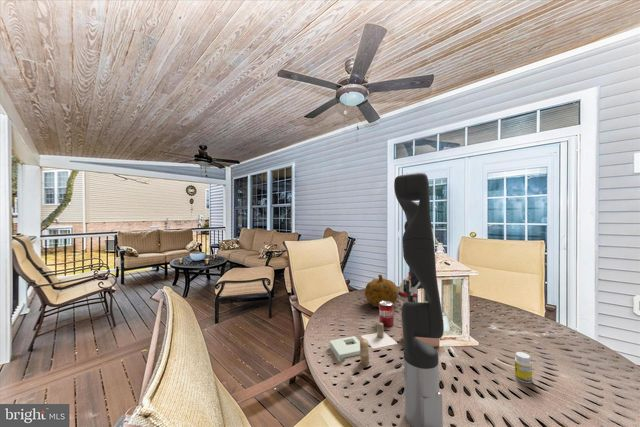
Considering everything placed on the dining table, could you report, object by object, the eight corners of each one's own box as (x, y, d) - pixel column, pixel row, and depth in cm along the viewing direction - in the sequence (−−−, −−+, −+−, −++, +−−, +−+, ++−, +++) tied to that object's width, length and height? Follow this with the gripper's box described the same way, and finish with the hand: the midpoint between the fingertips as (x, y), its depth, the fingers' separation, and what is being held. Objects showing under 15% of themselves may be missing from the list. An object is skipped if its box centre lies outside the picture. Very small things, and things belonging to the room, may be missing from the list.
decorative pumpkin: (403, 300, 167) (400, 270, 165) (393, 315, 149) (390, 281, 148) (373, 297, 177) (370, 268, 176) (361, 310, 160) (357, 278, 159)
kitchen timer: (399, 295, 180) (398, 274, 179) (399, 289, 193) (399, 269, 193) (420, 297, 175) (420, 275, 175) (419, 290, 188) (419, 270, 188)
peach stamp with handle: (439, 348, 110) (438, 314, 110) (417, 353, 107) (416, 318, 107) (422, 337, 121) (421, 305, 121) (401, 341, 118) (400, 309, 118)
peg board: (367, 356, 107) (366, 349, 107) (339, 362, 103) (339, 354, 103) (354, 342, 118) (354, 336, 118) (329, 347, 115) (329, 340, 115)
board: (398, 346, 113) (397, 329, 113) (373, 352, 110) (372, 334, 110) (383, 334, 125) (383, 319, 125) (360, 339, 121) (360, 323, 121)
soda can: (394, 330, 129) (393, 306, 129) (379, 329, 130) (378, 305, 130) (393, 323, 136) (392, 301, 136) (379, 323, 137) (378, 300, 137)
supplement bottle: (515, 372, 93) (514, 349, 93) (532, 378, 90) (531, 353, 90) (514, 379, 89) (514, 355, 89) (532, 385, 86) (531, 360, 86)
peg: (370, 368, 99) (369, 342, 99) (363, 370, 98) (362, 343, 98) (366, 363, 102) (365, 338, 102) (359, 365, 101) (358, 339, 101)
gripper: (409, 268, 108) (410, 307, 108) (437, 265, 113) (439, 302, 112) (399, 265, 116) (400, 301, 116) (426, 262, 120) (427, 297, 120)
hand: (419, 302), depth 114 cm, fingers open, 8 cm apart
